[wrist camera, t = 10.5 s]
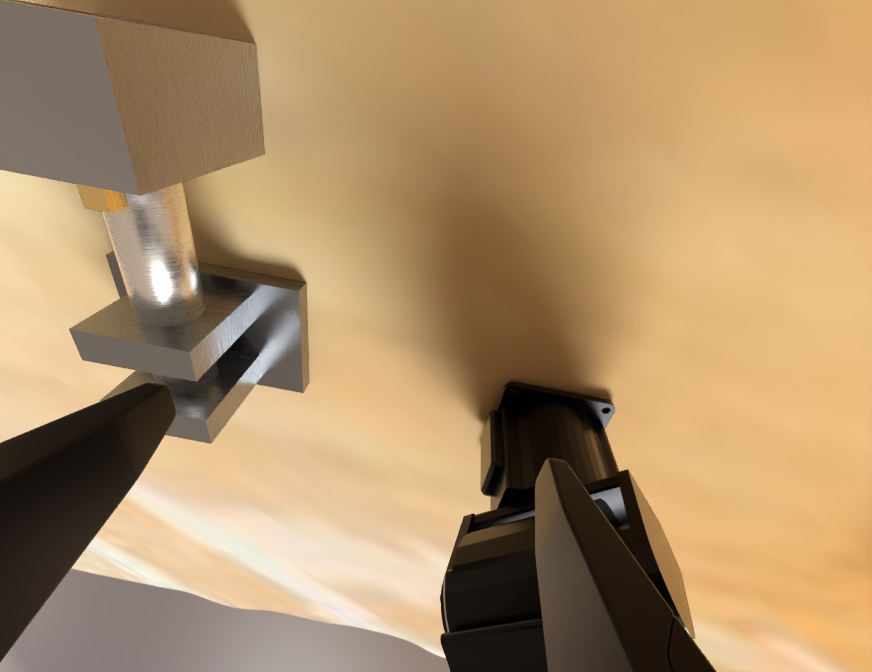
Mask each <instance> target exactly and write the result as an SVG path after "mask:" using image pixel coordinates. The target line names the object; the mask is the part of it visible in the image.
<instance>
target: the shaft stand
mask: <svg viewBox="0 0 872 672" xmlns="http://www.w3.org/2000/svg"><path fill="white" fill-rule="evenodd" d="M47 8H48V7H47ZM52 9H54V8H52ZM58 10H60V9H58ZM63 11H65V10H63ZM68 12H71V11H68ZM74 13H77V12H74ZM79 14H82V13H79ZM84 15H88V14H84ZM90 16H94V15H90ZM95 17H99V16H95ZM100 18H105V17H100ZM106 19H110V18H106ZM112 20H115V19H112ZM118 21H121V20H118ZM124 22H126V21H124ZM130 23H131V22H130ZM77 187H78V190H79V193H80V196H81V199H82V202H83V205H84V207H85V209H91V210H96V211H101V212H102V214H103V218H104V221H105V224H106V227H107V230H108V233H109V237H110V240H111V243H112V246H113V249H114V251H113V252H110V253H108V254H106V257H107V260H108V263H109V266H110V269H111V272H112V275H113V278H114V281H115V284H116V287H117V290H118V293H119V296H120V299H119V300H117V301H115V302H114V303H112V304H110V305H109V306H107V307H105V308H104V309H102V310H100V311H99V312H97V313H95V314H93V315H92V316H90V317H88V318H87V319H85V320H83V321H82V322H80V323H78V324H77V325H75V326H73V327H72V328H70V329H69V330H70V333H71V335H72V337H73V340H74V342H75V344H76V347H77V349H78V351H79V353H80V356H81V358H82V360H85V361H90V362H96V363H101V364H106V365H111V366H117V367H122V368H127V369H133V370H136V371H135V372H134V373H132V374H131V375H130V376H129V377H128V378H126V379H125V380H124V381H123V382H122V383H120V384H119V385H118V386H117V387H116V388H114V389H113V390H112V391H111V392H110V393H108V394H107V395H106V396H105V397H104V398H102V399H101V400H100V402H101V401H103V400H105V399H108V398H110V397H113V396H115V395H118V394H120V393H122V392H125V391H127V390H130V389H132V388H134V387H137V386H139V385H142V384H144V383H147V382H155V383H160V384H165V385H167V386H168V387H169V388H170V390H171V393H172V396H173V400H174V403H175V407H176V416H175V419H174V421H173V423H172V424H171V426H170V427H169V429H168V431H167V432H166V434H165V435H168V436H174V437H179V438H184V439H190V440H195V441H200V442H205V443H212V442H213V441H214V439H215V438H216V437H217V435H218V434H219V433H220V431H221V430H222V429H223V427H224V426H225V425H226V423H227V422H228V421H229V419H230V418H231V417H232V415H233V414H234V413H235V411H236V410H237V409H238V407H239V406H240V405H241V403H242V402H243V401H244V399H245V398H246V397H247V395H248V394H249V393H250V391H251V390H252V389H253V387H254V386H255V385H256V384H258V385H264V386H269V387H274V388H279V389H285V390H290V391H295V392H301V393H303V392H304V391H305V389H306V387H307V385H308V384H309V355H308V320H307V285H306V283H304V282H299V281H293V280H288V279H283V278H278V277H272V276H267V275H262V274H257V273H251V272H246V271H241V270H236V269H230V268H225V267H220V266H215V265H209V264H204V263H199V262H197V256H196V251H195V246H194V241H193V236H192V231H191V225H190V220H189V215H188V210H187V205H186V200H185V194H184V189H183V184H182V182H181V183H178V184H175V185H172V186H169V187H166V188H163V189H160V190H157V191H154V192H151V193H148V194H145V195H142V196H138V195H133V194H127V193H122V192H117V191H111V190H106V189H101V188H95V187H90V186H85V185H80V184H77Z"/></svg>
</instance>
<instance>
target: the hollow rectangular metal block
mask: <svg viewBox="0 0 872 672" xmlns="http://www.w3.org/2000/svg"><path fill="white" fill-rule="evenodd" d="M47 7H48V8H47ZM52 8H54V9H52ZM58 9H60V10H58ZM63 10H65V11H63ZM68 11H71V12H68ZM74 12H77V13H74ZM79 13H82V14H79ZM84 14H88V15H84ZM90 15H94V16H90ZM95 16H99V17H95ZM100 17H105V18H100ZM106 18H110V19H106ZM112 19H115V20H112ZM118 20H121V21H118ZM124 21H126V22H124ZM130 22H131V23H130ZM262 155H265V150H264V138H263V125H262V113H261V100H260V88H259V75H258V62H257V50H256V44H253V43H248V42H243V41H237V40H232V39H227V38H221V37H216V36H211V35H206V34H200V33H195V32H190V31H184V30H179V29H174V28H168V27H163V26H158V25H153V24H147V23H142V22H137V21H131V20H126V19H121V18H115V17H110V16H105V15H100V14H94V13H88V12H83V11H77V10H71V9H66V8H60V7H54V6H48V5H43V4H37V3H31V2H25V1H20V0H0V170H5V171H11V172H16V173H21V174H26V175H32V176H37V177H42V178H48V179H53V180H58V181H64V182H69V183H74V184H80V185H85V186H90V187H95V188H101V189H106V190H111V191H117V192H122V193H127V194H133V195H138V196H142V195H145V194H148V193H151V192H154V191H157V190H160V189H163V188H166V187H169V186H172V185H175V184H178V183H181V182H184V181H187V180H190V179H193V178H196V177H199V176H202V175H205V174H208V173H211V172H214V171H217V170H220V169H223V168H226V167H229V166H232V165H235V164H238V163H241V162H244V161H247V160H250V159H253V158H256V157H259V156H262Z"/></svg>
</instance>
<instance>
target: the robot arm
mask: <svg viewBox="0 0 872 672" xmlns="http://www.w3.org/2000/svg"><path fill="white" fill-rule="evenodd" d="M513 389H514V390H516V391H514V392H511V391H509V390H513ZM605 407H608V408H606V409H603V408H605ZM614 412H615V407H614V405H613V402H611V401H610V400H607V399H602V398H597V397H591V396H586V395H581V394H576V393H570V392H565V391H560V390H555V389H549V388H544V387H539V386H534V385H528V384H523V383H518V382H508V383H507V384H505V386H504V388H503V391H502V394H501V397H500V400H499V403H498V406H497V409H496V410H495V409H493V410H492V411H490V413H489V416H488V419H487V422H486V425H485V428H484V431H483V434H482V437H481V491H482V493H483V494H484V495H486V496H491V511H487V512H484V513H480V514H477V515H475V514H470V515H467V516H464V518H463V521H462V524H461V527H460V530H459V533H458V536H457V539H456V542H455V545H454V549H453V552H452V555H451V558H450V561H449V564H448V567H447V570H446V573H445V576H444V580H443V584H442V590H441V596H440V601H441V614H442V621H443V626H444V630H445V633H443V634H442V635H441V645H442V648H443V651H444V653H445V656H446V659H447V662H448V665H449V668H450V672H716V670H715V669H714V668H713V666H712V665H711V664H710V662H709V661H708V660H707V658H706V657H705V655H704V654H703V653H702V651H701V650H700V649H699V647H698V646H697V645H696V643H695V642H694V641H693V639H695V633H694V628H693V624H692V619H691V615H690V610H689V606H688V601H687V596H686V592H685V587H684V583H683V578H682V574H681V571H680V568H679V566H678V564H677V561H676V559H675V557H674V554H673V552H672V550H671V547H670V545H669V543H668V541H667V538H666V536H665V534H664V531H663V529H662V527H661V524H660V523H659V521H658V519H657V517H656V516H655V514H654V512H653V511H652V509H651V507H650V505H649V504H648V502H647V500H646V499H645V497H644V495H643V493H642V492H641V490H640V488H639V487H638V485H637V483H636V482H635V480H634V478H633V476H632V475H631V473H630V471H629V470H624V471H621V472H619V469H618V466H617V463H616V461H615V458H614V455H613V452H612V449H611V446H610V443H609V440H608V437H607V435H606V432H605V428H606V426H607V424H608V423H609V421H610V419H611V417H612V416H613V414H614ZM175 416H176V407H175V403H174V400H173V396H172V393H171V390H170V388H169V387H168V386H167V385H165V384H160V383H155V382H147V383H144V384H142V385H139V386H137V387H134V388H132V389H130V390H127V391H125V392H122V393H120V394H118V395H115V396H113V397H110V398H108V399H105V400H103V401H101V402H98V403H96V404H93V405H91V406H88V407H86V408H84V409H81V410H79V411H76V412H74V413H72V414H69V415H67V416H64V417H62V418H59V419H57V420H55V421H52V422H50V423H47V424H45V425H43V426H40V427H38V428H35V429H33V430H30V431H28V432H26V433H23V434H21V435H18V436H16V437H13V438H11V439H9V440H6V441H4V442H1V443H0V662H1V661H2V660H3V658H4V657H5V656H6V654H7V653H8V652H9V650H10V649H11V648H12V646H13V645H14V644H15V642H16V641H17V640H18V638H19V637H20V636H21V634H22V633H23V632H24V630H25V629H26V628H27V626H28V625H29V624H30V622H31V621H32V620H33V618H34V617H35V616H36V614H37V613H38V612H39V610H40V609H41V607H42V606H43V605H44V604H45V602H46V601H47V600H48V598H49V597H50V596H51V594H52V593H53V592H54V590H55V589H56V588H57V586H58V585H59V584H60V582H61V581H62V580H63V578H64V577H65V576H66V574H67V573H68V572H69V570H70V569H71V568H72V566H73V565H74V564H75V562H76V561H77V560H78V558H79V557H80V556H81V554H82V553H83V552H84V550H85V549H86V548H87V546H88V545H89V544H90V542H91V541H92V540H93V538H94V537H95V536H96V534H97V533H98V532H99V530H100V529H101V528H102V526H103V525H104V524H105V522H106V521H107V520H108V518H109V517H110V516H111V514H112V513H113V512H114V510H115V509H116V508H117V506H118V505H119V504H120V502H121V501H122V500H123V498H124V497H125V496H126V494H127V493H128V492H129V490H130V489H131V488H132V486H133V485H134V483H135V482H136V481H137V479H138V478H139V476H140V475H141V473H142V472H143V470H144V469H145V467H146V465H147V464H148V462H149V460H150V459H151V457H152V456H153V454H154V452H155V451H156V449H157V447H158V446H159V444H160V442H161V441H162V439H163V437H164V436H165V434H166V432H167V431H168V429H169V427H170V426H171V424H172V423H173V421H174V419H175Z"/></svg>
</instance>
